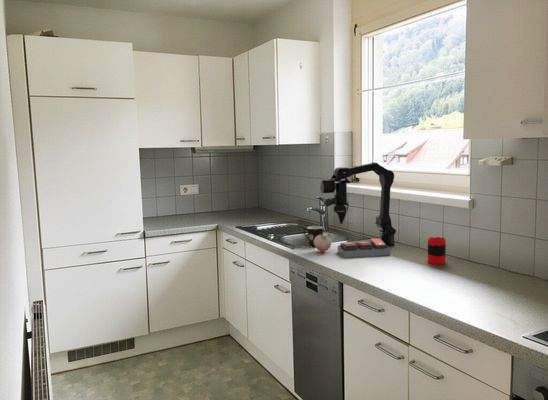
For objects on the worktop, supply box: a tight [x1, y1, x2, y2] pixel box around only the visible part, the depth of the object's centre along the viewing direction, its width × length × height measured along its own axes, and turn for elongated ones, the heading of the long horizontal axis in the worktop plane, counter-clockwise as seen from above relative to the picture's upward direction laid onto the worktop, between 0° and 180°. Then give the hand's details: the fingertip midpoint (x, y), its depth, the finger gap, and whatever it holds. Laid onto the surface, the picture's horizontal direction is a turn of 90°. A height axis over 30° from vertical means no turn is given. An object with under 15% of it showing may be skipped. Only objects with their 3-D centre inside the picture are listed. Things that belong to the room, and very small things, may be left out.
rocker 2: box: [370, 237, 385, 246], centre depth 231 cm, size 4×8×1 cm, turn 8°
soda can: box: [427, 234, 447, 266], centre depth 211 cm, size 8×8×12 cm
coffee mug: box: [303, 225, 324, 248], centre depth 251 cm, size 12×9×10 cm
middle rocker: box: [356, 241, 370, 245], centre depth 230 cm, size 4×8×1 cm, turn 7°
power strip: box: [337, 240, 391, 259], centre depth 230 cm, size 23×12×5 cm, turn 98°
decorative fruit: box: [314, 232, 332, 253], centre depth 236 cm, size 9×8×10 cm
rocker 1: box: [341, 242, 355, 246], centre depth 229 cm, size 4×8×1 cm, turn 7°
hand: (342, 222), depth 242 cm, fingers open, 9 cm apart
